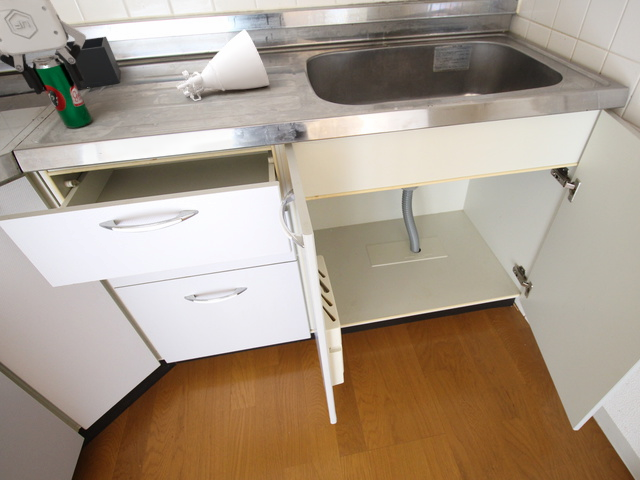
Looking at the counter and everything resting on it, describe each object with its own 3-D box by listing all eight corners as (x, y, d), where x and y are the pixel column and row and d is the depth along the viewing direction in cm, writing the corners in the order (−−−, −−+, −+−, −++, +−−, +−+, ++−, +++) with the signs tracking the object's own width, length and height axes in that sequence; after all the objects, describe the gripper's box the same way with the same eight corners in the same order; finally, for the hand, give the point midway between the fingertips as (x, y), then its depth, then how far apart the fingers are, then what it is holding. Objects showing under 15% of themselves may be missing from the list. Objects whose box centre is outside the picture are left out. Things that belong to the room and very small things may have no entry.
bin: (73, 90, 92) (54, 53, 87) (77, 77, 99) (60, 42, 94) (119, 83, 95) (104, 46, 89) (120, 71, 102) (106, 36, 96)
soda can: (92, 126, 77) (58, 60, 68) (64, 131, 75) (26, 64, 67) (94, 116, 80) (62, 52, 72) (67, 121, 79) (31, 56, 71)
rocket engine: (157, 53, 77) (241, 17, 79) (174, 77, 88) (247, 46, 91) (186, 107, 78) (267, 71, 80) (199, 125, 90) (270, 93, 92)
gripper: (-79, -22, 56) (3, 104, 68) (55, -34, 60) (110, 86, 73) (-61, -28, 61) (12, 90, 73) (61, -39, 65) (111, 74, 78)
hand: (60, 87), depth 73 cm, fingers open, 6 cm apart
